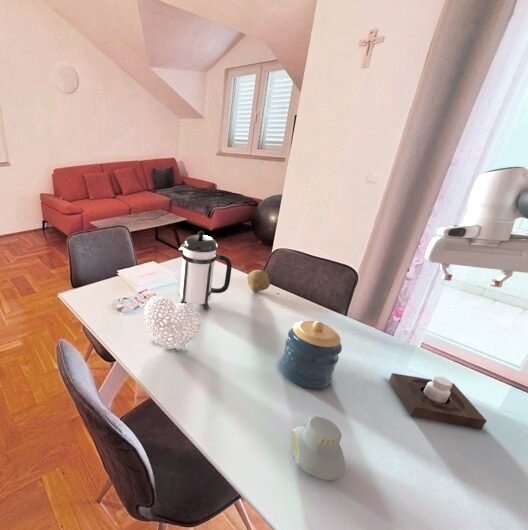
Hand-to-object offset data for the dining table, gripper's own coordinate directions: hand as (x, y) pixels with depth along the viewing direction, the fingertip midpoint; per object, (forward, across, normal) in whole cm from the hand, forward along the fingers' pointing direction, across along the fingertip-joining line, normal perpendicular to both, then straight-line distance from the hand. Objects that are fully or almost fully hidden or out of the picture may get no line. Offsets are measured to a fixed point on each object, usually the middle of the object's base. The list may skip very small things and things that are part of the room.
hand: (470, 283), depth 84 cm
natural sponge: (+19, +57, -20) cm, 63 cm away
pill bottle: (+30, +5, +15) cm, 34 cm away
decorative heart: (+29, +71, +33) cm, 84 cm away
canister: (+30, +34, +22) cm, 50 cm away
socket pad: (+30, +5, +15) cm, 34 cm away
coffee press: (+22, +75, +1) cm, 78 cm away
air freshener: (+36, +29, +49) cm, 67 cm away
